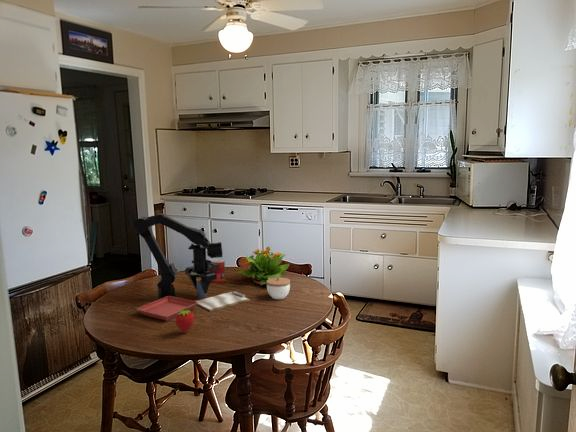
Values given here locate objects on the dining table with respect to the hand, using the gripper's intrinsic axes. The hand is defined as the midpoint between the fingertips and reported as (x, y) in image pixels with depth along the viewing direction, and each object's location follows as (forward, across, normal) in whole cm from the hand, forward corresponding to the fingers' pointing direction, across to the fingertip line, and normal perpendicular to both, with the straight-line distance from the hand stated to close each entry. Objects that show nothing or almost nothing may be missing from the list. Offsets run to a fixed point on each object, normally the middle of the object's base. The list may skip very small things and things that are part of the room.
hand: (201, 291), depth 202 cm
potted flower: (+3, 0, -35) cm, 35 cm away
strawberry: (+3, -32, +25) cm, 41 cm away
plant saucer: (+3, -7, +20) cm, 21 cm away
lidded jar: (+3, -25, -25) cm, 35 cm away
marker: (+2, 0, 0) cm, 2 cm away
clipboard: (+2, -12, -3) cm, 13 cm away
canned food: (+3, +17, -19) cm, 26 cm away
